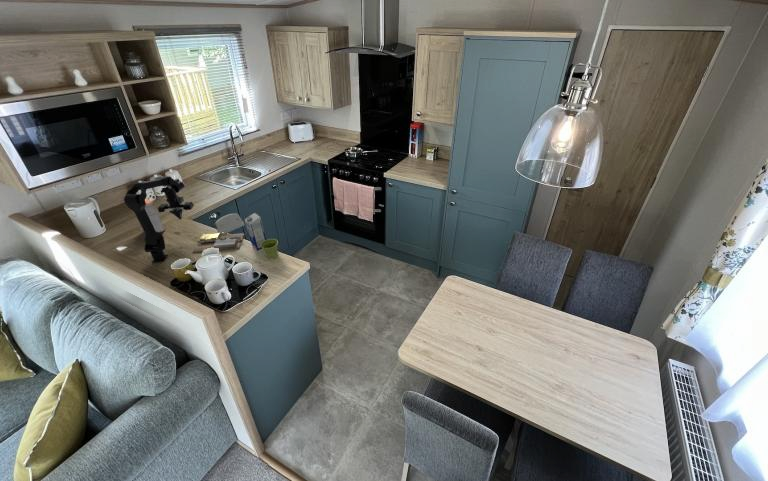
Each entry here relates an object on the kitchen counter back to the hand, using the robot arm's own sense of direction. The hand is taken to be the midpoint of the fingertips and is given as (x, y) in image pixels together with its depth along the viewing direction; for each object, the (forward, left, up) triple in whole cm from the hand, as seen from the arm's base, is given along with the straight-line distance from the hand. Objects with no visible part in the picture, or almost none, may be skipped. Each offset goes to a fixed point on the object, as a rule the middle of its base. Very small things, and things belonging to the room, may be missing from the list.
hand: (180, 219), depth 211 cm
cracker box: (+10, +23, -11) cm, 27 cm away
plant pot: (-34, -58, -11) cm, 68 cm away
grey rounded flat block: (+3, -26, -11) cm, 29 cm away
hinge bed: (-15, -24, -11) cm, 30 cm away
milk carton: (-22, -49, -11) cm, 55 cm away
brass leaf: (-11, -18, -10) cm, 23 cm away
